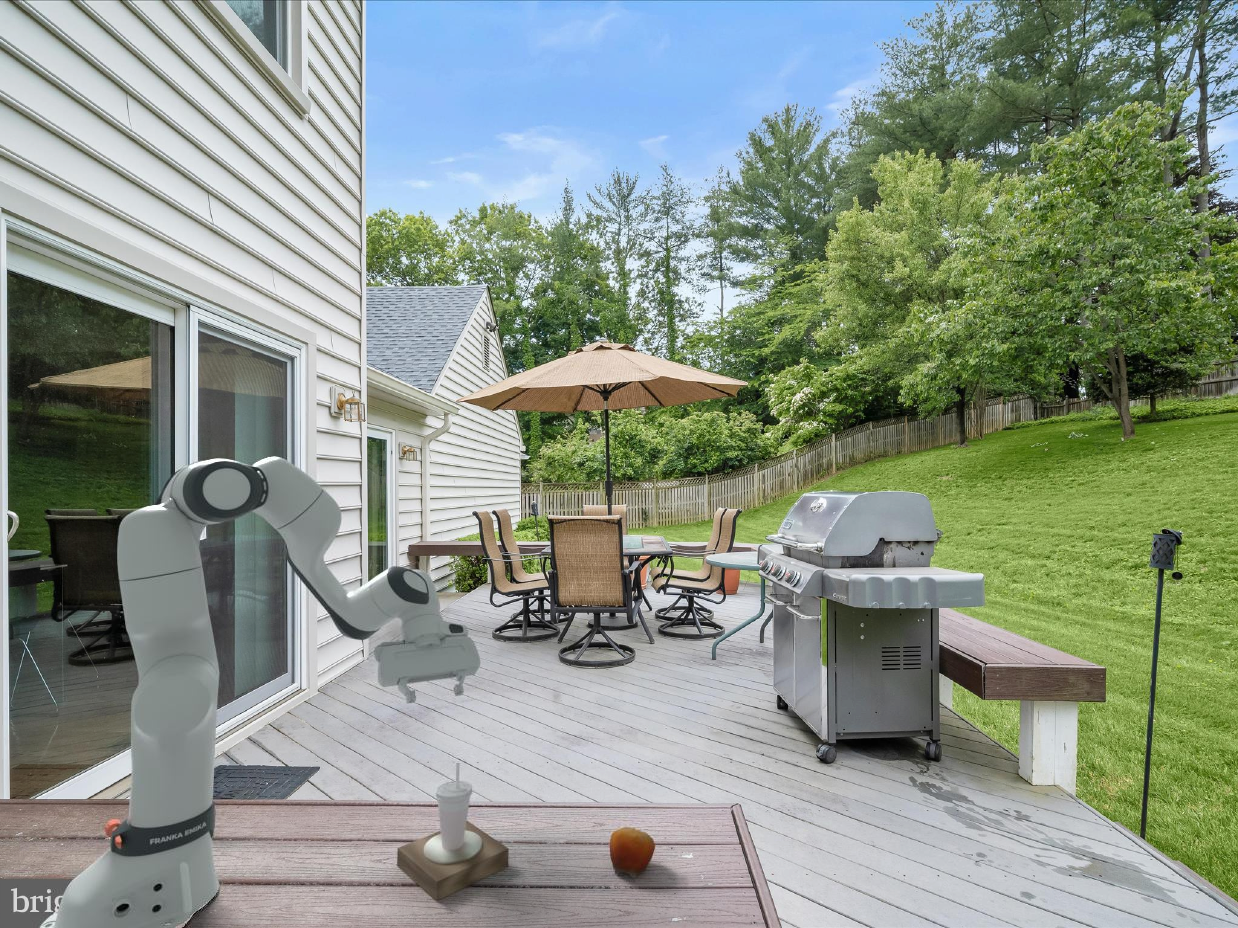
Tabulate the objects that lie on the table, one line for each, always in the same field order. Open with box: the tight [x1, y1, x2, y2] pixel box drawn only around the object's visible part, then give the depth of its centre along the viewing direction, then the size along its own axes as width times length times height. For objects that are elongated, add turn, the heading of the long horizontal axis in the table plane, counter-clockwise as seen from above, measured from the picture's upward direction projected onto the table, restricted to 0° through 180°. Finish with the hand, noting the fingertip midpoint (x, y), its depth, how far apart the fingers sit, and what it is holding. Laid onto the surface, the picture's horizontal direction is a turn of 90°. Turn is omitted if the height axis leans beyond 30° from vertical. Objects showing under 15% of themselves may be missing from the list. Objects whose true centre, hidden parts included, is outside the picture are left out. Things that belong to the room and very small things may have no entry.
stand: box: [396, 820, 510, 902], centre depth 109 cm, size 14×14×4 cm
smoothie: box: [435, 762, 473, 850], centre depth 110 cm, size 6×6×14 cm
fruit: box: [609, 826, 656, 882], centre depth 108 cm, size 8×8×8 cm
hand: (436, 697), depth 122 cm, fingers open, 8 cm apart
